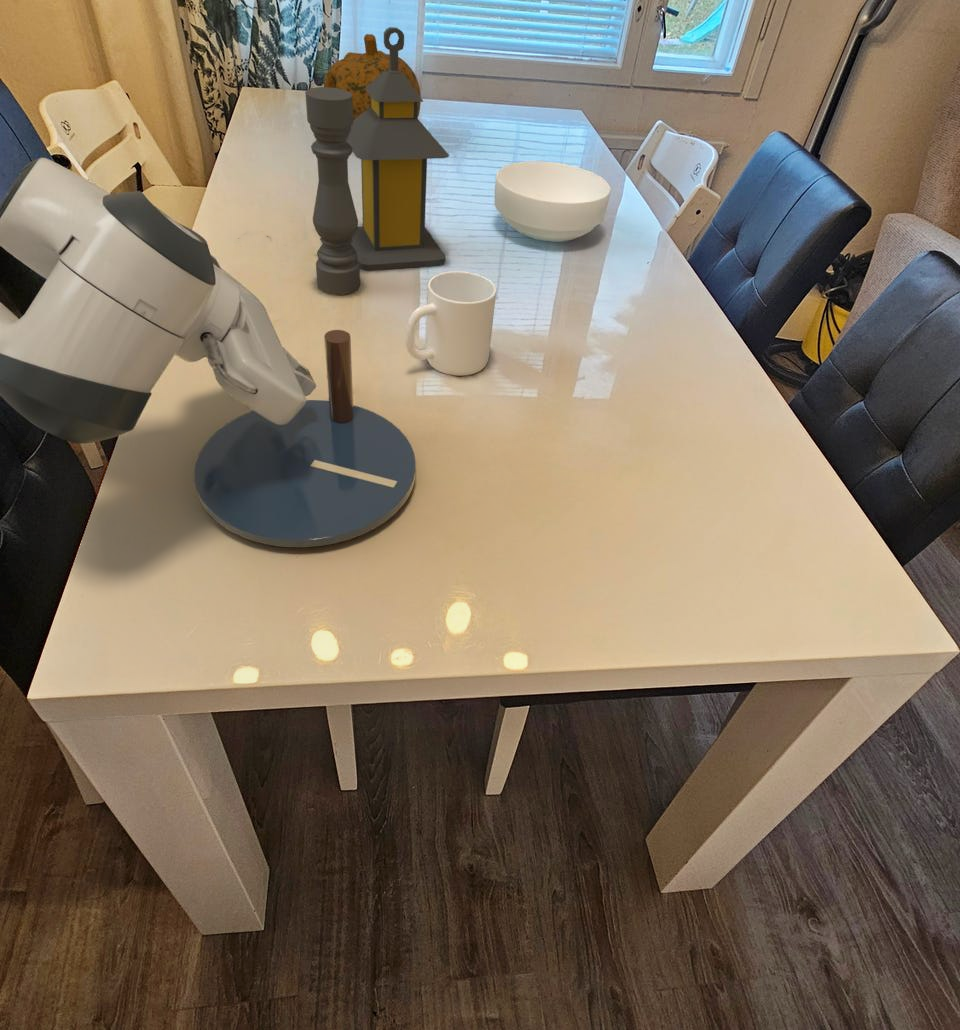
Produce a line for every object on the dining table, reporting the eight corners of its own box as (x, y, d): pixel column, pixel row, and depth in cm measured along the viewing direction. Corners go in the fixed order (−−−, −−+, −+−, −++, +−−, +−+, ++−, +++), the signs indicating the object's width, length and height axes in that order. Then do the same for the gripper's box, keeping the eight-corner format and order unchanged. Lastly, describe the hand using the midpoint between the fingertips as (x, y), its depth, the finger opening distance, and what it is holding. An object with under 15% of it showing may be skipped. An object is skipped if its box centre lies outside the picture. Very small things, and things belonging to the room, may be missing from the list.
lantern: (447, 264, 112) (460, 42, 91) (360, 271, 108) (353, 39, 87) (422, 228, 121) (429, 18, 100) (340, 233, 117) (330, 15, 96)
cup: (500, 366, 92) (510, 293, 85) (423, 392, 86) (426, 316, 79) (464, 337, 96) (469, 266, 89) (388, 359, 91) (388, 285, 84)
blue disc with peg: (149, 512, 66) (118, 417, 59) (263, 389, 82) (250, 302, 74) (367, 573, 63) (364, 482, 56) (442, 434, 79) (448, 347, 71)
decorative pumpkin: (432, 129, 158) (430, 23, 143) (408, 167, 145) (403, 55, 130) (346, 119, 161) (336, 14, 146) (314, 156, 147) (299, 44, 132)
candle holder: (318, 274, 105) (304, 84, 88) (360, 276, 106) (354, 88, 89) (316, 294, 101) (301, 98, 84) (359, 295, 102) (354, 102, 85)
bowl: (583, 264, 116) (593, 213, 111) (474, 236, 120) (478, 185, 115) (612, 224, 130) (622, 176, 124) (512, 200, 134) (518, 153, 128)
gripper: (237, 343, 57) (358, 419, 67) (198, 239, 70) (304, 316, 80) (190, 398, 59) (315, 464, 69) (160, 286, 72) (269, 356, 82)
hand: (309, 384), depth 75 cm, fingers closed
